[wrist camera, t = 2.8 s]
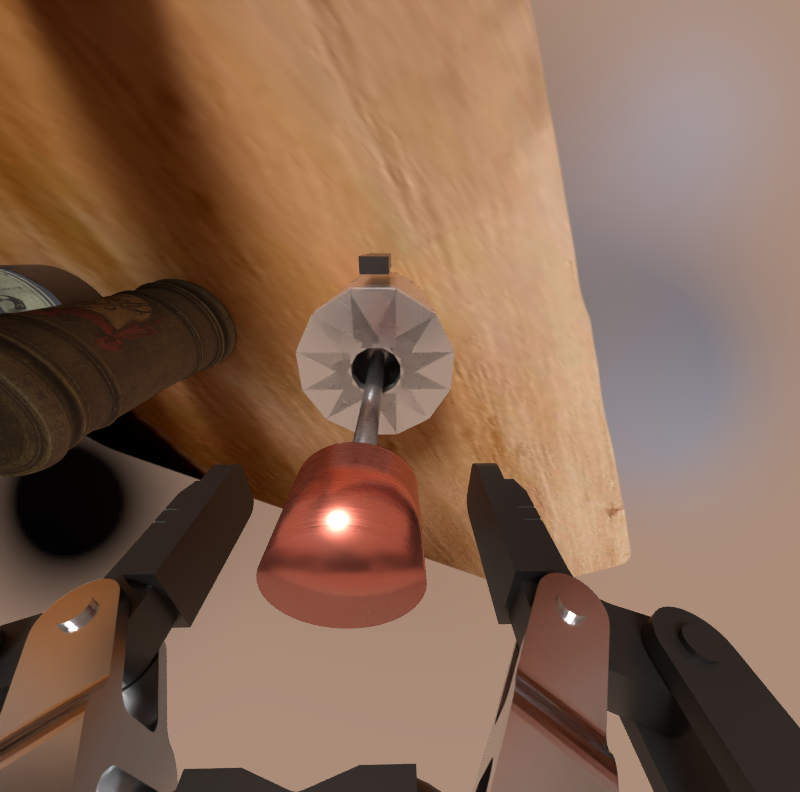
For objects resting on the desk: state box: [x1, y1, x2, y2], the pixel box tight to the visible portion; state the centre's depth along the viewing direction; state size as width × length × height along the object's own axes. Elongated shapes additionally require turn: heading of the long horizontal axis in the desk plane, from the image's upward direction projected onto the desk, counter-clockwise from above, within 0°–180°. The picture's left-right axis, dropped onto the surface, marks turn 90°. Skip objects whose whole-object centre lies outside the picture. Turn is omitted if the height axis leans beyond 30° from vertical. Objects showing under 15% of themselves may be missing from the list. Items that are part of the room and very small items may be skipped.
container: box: [0, 279, 235, 477], centre depth 22 cm, size 9×9×18 cm
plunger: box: [257, 348, 427, 628], centre depth 14 cm, size 7×7×17 cm
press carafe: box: [296, 253, 454, 435], centre depth 24 cm, size 12×10×13 cm
